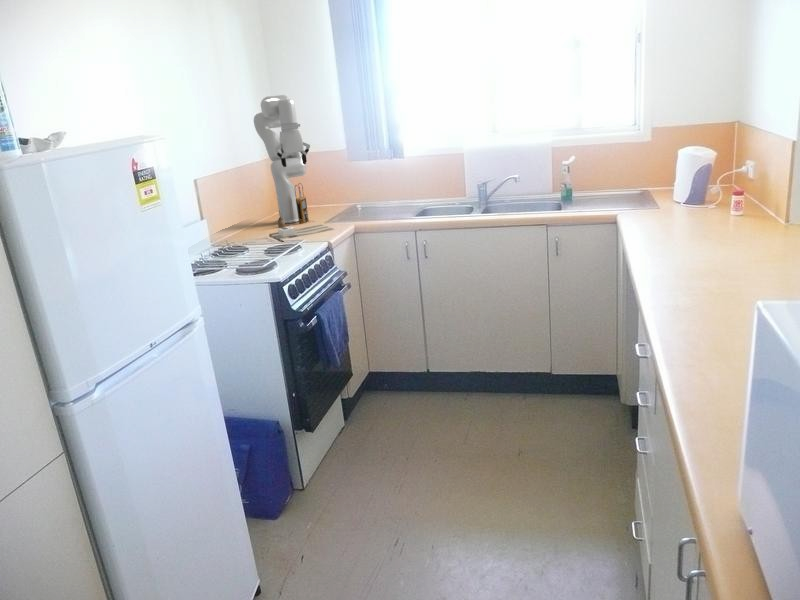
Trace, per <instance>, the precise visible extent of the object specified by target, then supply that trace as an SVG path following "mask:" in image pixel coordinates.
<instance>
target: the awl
mask: <svg viewBox="0 0 800 600" xmlns="http://www.w3.org/2000/svg"><path fill="white" fill-rule="evenodd" d="M278 214H279V215H278V216H279V217H278V219H277V221H278V222H277V225H278V229H280V228H285V227H286V224H285V222H284V219H283V218H282V217H281V212H280V209H279V208H278Z"/></svg>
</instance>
